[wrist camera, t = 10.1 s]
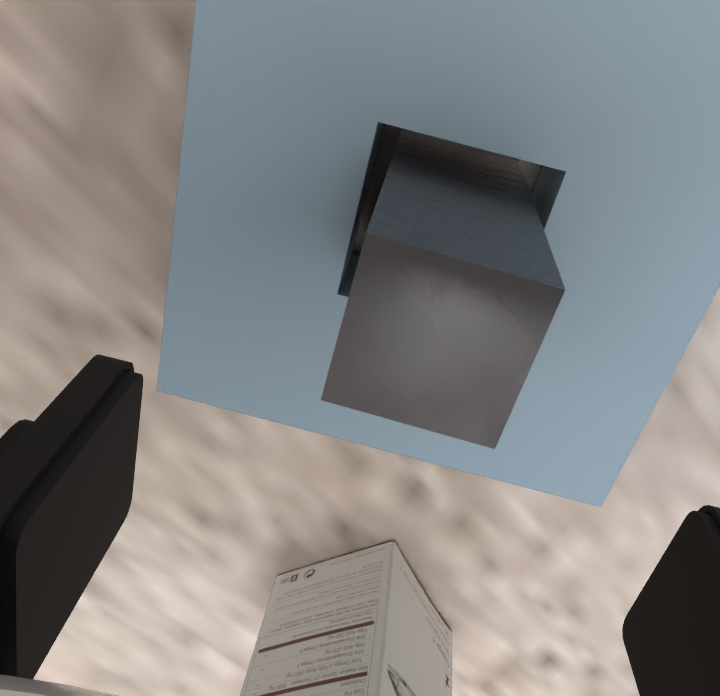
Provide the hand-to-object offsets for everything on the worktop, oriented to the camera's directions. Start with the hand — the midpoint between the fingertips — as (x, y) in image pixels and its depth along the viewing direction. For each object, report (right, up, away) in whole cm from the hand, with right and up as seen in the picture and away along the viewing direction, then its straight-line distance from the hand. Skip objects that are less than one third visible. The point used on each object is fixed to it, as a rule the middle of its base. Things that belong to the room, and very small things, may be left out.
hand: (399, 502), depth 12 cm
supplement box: (0, -11, +25) cm, 28 cm away
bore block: (+3, +8, +15) cm, 17 cm away
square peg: (+2, +8, +15) cm, 17 cm away
